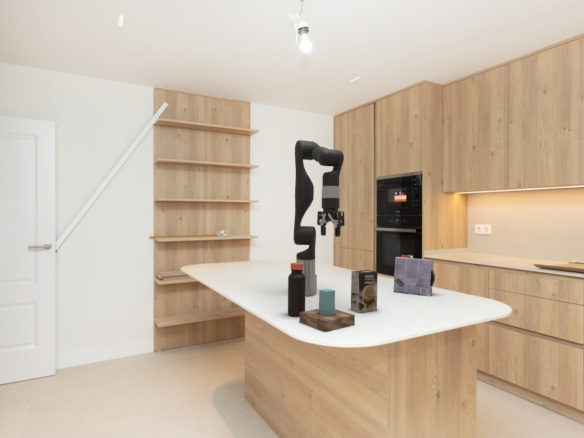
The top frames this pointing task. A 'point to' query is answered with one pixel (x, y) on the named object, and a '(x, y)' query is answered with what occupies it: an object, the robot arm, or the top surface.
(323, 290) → the peg
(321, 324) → the socket block
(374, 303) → the coffee box
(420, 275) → the cake pan box
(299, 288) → the bottle
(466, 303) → the top surface
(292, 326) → the top surface
